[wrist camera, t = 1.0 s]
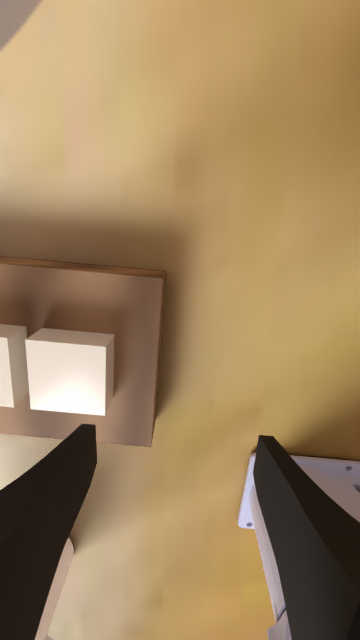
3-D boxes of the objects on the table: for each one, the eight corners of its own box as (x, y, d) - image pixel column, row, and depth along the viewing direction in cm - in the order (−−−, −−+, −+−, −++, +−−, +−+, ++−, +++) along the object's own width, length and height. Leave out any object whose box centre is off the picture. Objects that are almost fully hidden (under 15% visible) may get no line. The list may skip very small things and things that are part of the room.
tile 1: (114, 334, 18) (105, 346, 16) (113, 397, 19) (105, 415, 18) (42, 327, 18) (25, 339, 16) (46, 391, 19) (30, 409, 18)
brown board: (166, 271, 20) (162, 278, 17) (155, 420, 23) (151, 447, 21) (-39, 252, 20) (-77, 256, 17) (-18, 404, 23) (-47, 429, 21)
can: (0, 519, 27) (-137, 732, 16) (67, 516, 27) (-22, 730, 15) (18, 568, 29) (-92, 789, 18) (81, 565, 29) (11, 788, 17)
